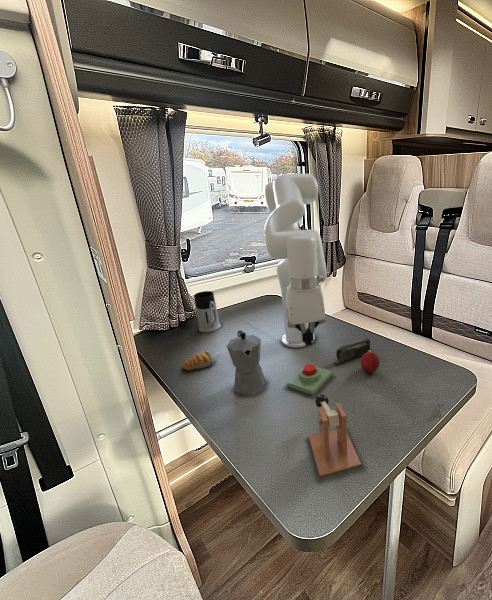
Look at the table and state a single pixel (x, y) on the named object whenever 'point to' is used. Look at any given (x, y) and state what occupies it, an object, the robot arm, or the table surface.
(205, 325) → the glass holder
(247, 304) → the table surface
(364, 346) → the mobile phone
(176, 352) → the table surface
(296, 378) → the control block
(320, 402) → the switch lever
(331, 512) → the table surface
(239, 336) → the coffeepot
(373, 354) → the onion
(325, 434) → the switch bracket
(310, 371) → the button
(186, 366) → the pastry
